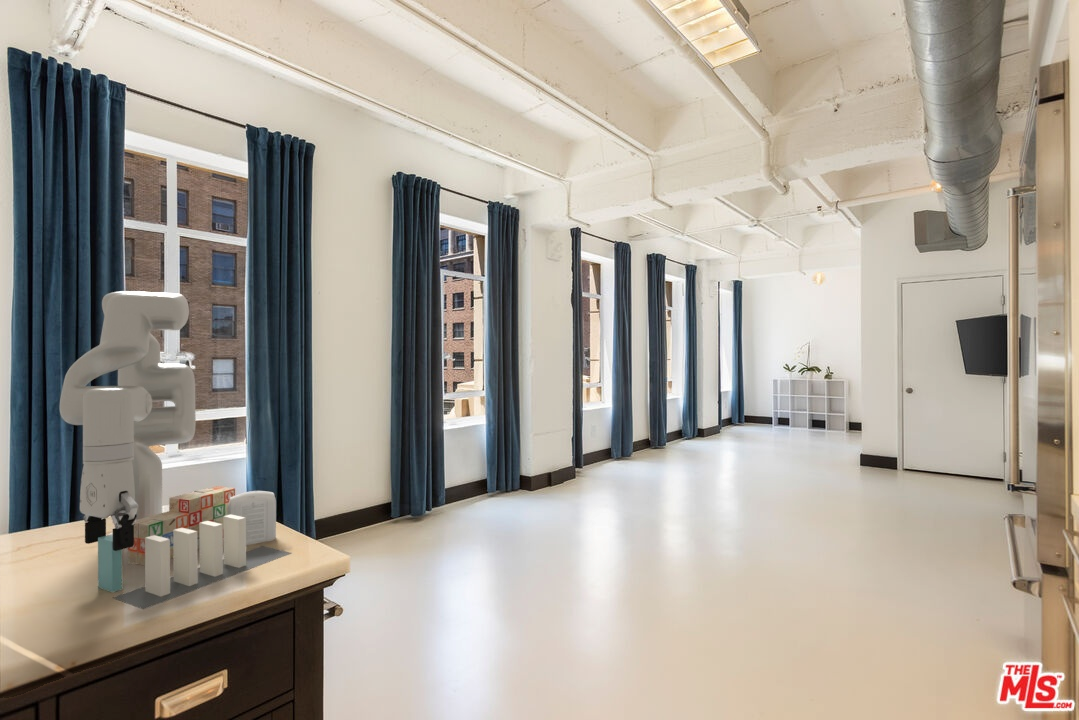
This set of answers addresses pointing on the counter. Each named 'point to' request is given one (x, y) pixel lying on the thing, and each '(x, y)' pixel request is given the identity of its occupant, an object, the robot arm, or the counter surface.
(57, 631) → the counter surface
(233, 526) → the domino
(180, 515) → the stack of blocks
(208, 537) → the domino
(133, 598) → the domino mat
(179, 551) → the domino
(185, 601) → the counter surface
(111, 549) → the domino
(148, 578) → the domino
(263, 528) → the white rounded slab
